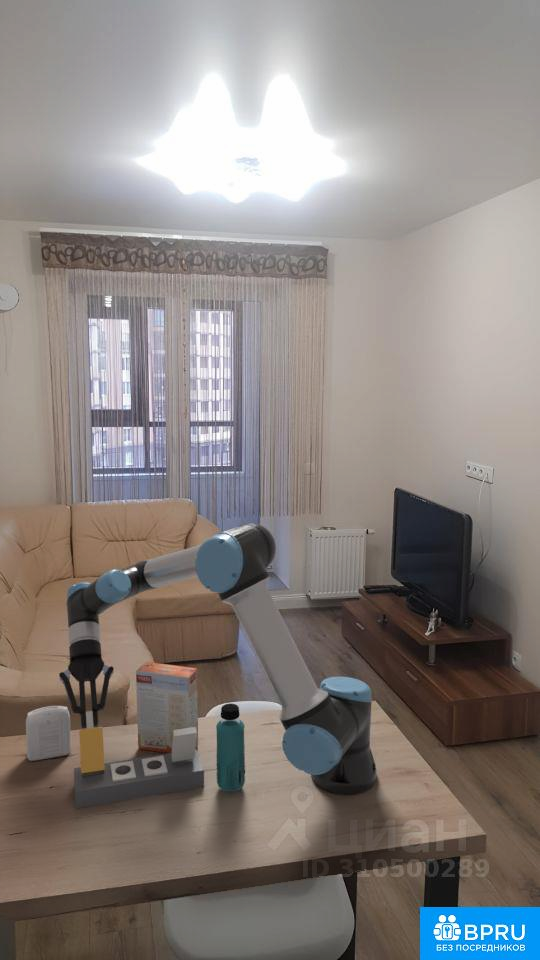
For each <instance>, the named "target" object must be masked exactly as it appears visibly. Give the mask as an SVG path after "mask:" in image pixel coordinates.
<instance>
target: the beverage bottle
mask: <svg viewBox="0 0 540 960" xmlns="http://www.w3.org/2000/svg"><path fill="white" fill-rule="evenodd" d="M220 709H221V710H220V718H221V719H220V720H219V721H218V722H217V723H216V729H215V730H216V754H215V755H216V763H215V764H216V767H215V768H216V772H215V774H216V776H215V777H216V783H217V786H218V788H219V789H220V790H222V791H224V792H235V791H238V790H241V789H242V788H243V787H245V786H244V785H245V781H246V775H245V774H246V763H245V762H246V760H245V759H246V757H245V756H246V755H245V749H246V748H245V723H244V721H242V720H241V719H240V707H239V705H237V704H236V703H225V704H224V705H222V706H221V708H220Z"/></svg>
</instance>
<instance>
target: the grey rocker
mask: <svg viewBox="0 0 540 960" xmlns="http://www.w3.org/2000/svg"><path fill="white" fill-rule="evenodd" d="M196 736H197V731H196V727H191V728H185V729H178V730H173V742H172V763H175V762H181V761H188V760H193V759H194V757H195V746H196Z"/></svg>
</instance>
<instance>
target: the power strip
mask: <svg viewBox="0 0 540 960" xmlns="http://www.w3.org/2000/svg"><path fill="white" fill-rule="evenodd" d="M104 765H105V770H104V774H101V775H95V776H89V777H83V778H82V773H81V766H79V767H73V777H74V778H73V780H74V781H73V782H74V799H75V809H81V808H87V807H93V805H94V806H99V805H98V804H100V805H104V803H106V804H109V802H111V803H117V802H122V801H127V800H132V799H133V798H134V799H138V798H139V797H140V798H144V797H146V798H147V797H151V796H156V795H162V794H163V795H164V794H168V793H174V792H179V791H185V790H191V789H196V788H202V787H205V769H204V766H203V765H202V761H201V759H200V756H199V752H198V750H197V748H196V749H195V757H194V759H193V760H188V761H181V762H175V763H172V753H162V754H155V755H149V756H143V757H136V758H130V759H124V760H123V759H122V760H118V761H111V762H104ZM116 801H117V802H116Z"/></svg>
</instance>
